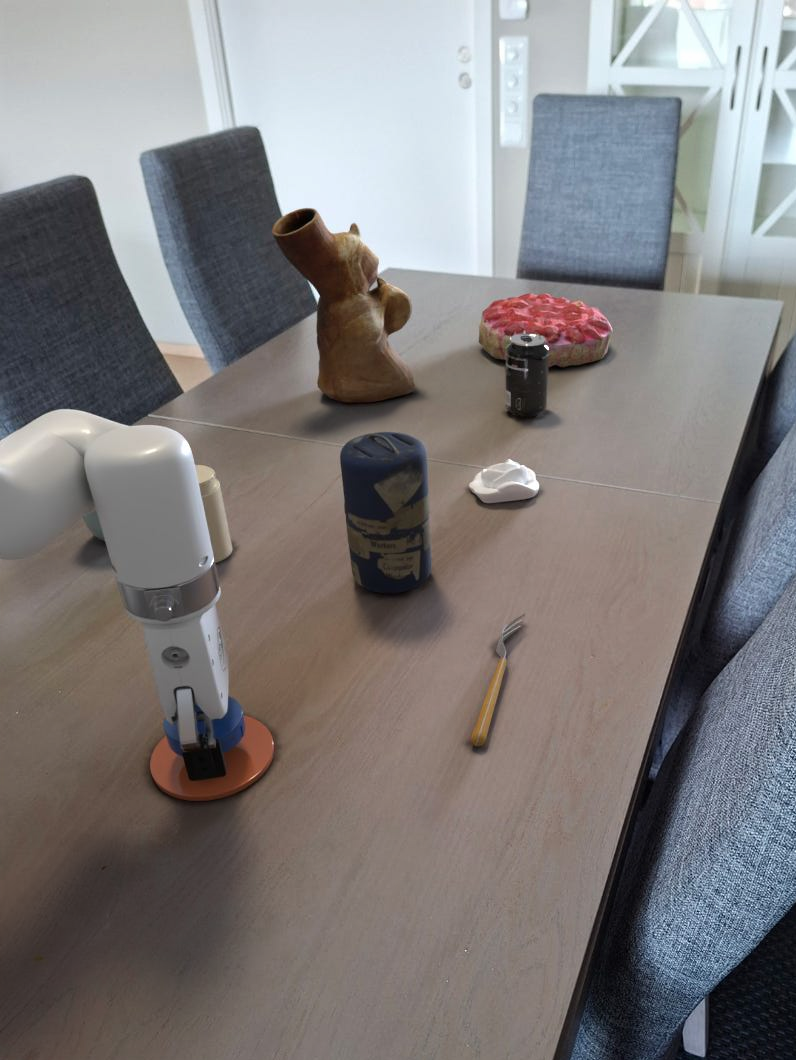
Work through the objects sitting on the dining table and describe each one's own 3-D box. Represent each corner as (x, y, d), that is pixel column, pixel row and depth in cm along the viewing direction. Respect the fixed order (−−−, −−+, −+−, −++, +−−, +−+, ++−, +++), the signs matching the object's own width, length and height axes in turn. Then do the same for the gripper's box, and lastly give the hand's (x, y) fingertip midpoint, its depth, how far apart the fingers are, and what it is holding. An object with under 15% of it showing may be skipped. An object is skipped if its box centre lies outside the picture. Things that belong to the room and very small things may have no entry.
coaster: (146, 810, 77) (144, 805, 77) (156, 726, 86) (155, 721, 86) (275, 790, 79) (274, 785, 79) (273, 710, 88) (272, 705, 88)
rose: (513, 484, 117) (453, 466, 122) (512, 515, 120) (454, 495, 124) (553, 457, 124) (495, 441, 128) (552, 486, 126) (495, 469, 131)
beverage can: (537, 401, 152) (540, 330, 145) (552, 416, 146) (556, 343, 139) (499, 406, 150) (499, 334, 143) (513, 422, 145) (514, 347, 138)
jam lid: (257, 712, 83) (254, 696, 82) (230, 763, 78) (226, 747, 77) (186, 705, 84) (182, 689, 83) (154, 755, 79) (150, 739, 78)
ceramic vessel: (432, 394, 155) (424, 204, 137) (316, 424, 145) (292, 223, 127) (386, 368, 165) (373, 189, 148) (276, 394, 155) (248, 205, 138)
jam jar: (178, 568, 109) (159, 489, 103) (181, 542, 114) (163, 465, 108) (232, 562, 110) (216, 484, 104) (233, 536, 116) (218, 460, 109)
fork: (490, 738, 82) (526, 611, 98) (471, 732, 82) (509, 606, 98) (484, 756, 84) (520, 628, 99) (465, 750, 84) (504, 623, 99)
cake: (471, 324, 182) (473, 284, 177) (592, 324, 185) (597, 285, 180) (485, 375, 163) (487, 331, 158) (619, 374, 166) (626, 332, 161)
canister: (366, 607, 102) (351, 461, 92) (342, 567, 109) (326, 427, 99) (444, 588, 105) (439, 445, 95) (416, 550, 112) (408, 413, 102)
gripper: (214, 640, 65) (252, 811, 76) (220, 525, 79) (251, 683, 90) (106, 653, 64) (159, 825, 75) (131, 534, 78) (173, 693, 88)
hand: (209, 746), depth 82 cm, fingers closed on jam lid, 6 cm apart
